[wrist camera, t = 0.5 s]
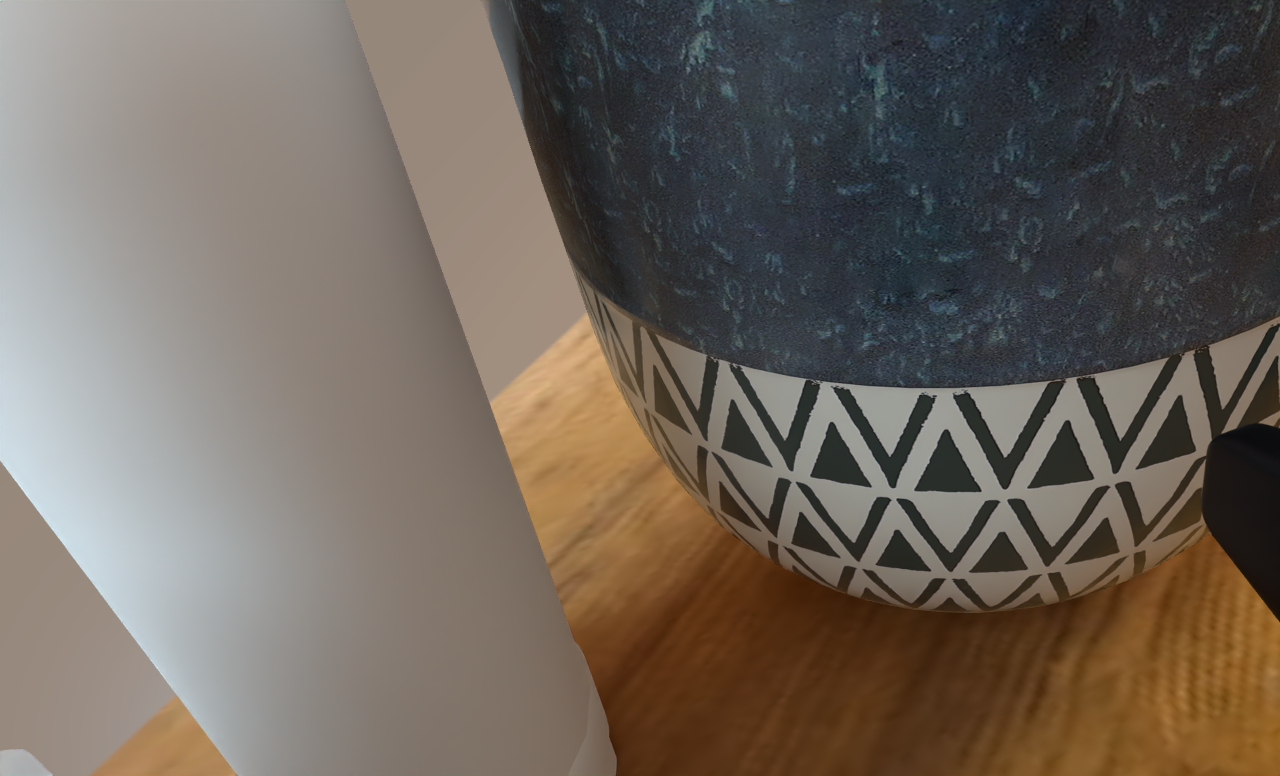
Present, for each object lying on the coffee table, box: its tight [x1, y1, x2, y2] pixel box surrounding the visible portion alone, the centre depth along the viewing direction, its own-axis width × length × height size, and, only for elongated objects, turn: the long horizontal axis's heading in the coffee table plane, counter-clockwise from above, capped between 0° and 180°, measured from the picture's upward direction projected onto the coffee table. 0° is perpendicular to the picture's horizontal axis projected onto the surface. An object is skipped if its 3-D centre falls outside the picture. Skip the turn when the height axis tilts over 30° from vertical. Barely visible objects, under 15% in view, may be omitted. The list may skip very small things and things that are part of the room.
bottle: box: [0, 0, 617, 776], centre depth 18 cm, size 8×8×30 cm
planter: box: [481, 0, 1280, 613], centre depth 26 cm, size 20×20×21 cm
